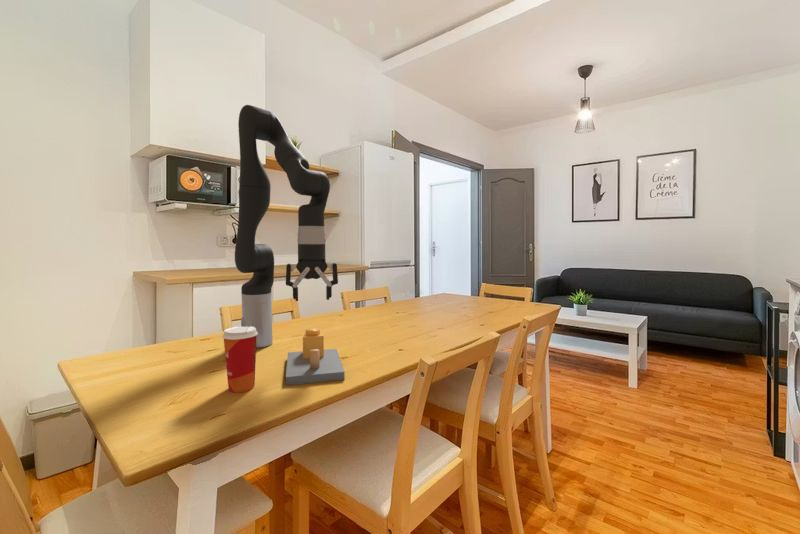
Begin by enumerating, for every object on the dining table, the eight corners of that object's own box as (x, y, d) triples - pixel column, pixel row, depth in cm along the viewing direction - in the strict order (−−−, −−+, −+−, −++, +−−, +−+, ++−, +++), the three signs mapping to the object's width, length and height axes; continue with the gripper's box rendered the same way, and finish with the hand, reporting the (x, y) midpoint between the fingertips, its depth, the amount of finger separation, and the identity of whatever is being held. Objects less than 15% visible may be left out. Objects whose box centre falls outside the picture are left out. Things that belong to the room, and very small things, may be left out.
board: (285, 385, 88) (285, 358, 88) (288, 359, 108) (287, 337, 107) (344, 379, 92) (344, 354, 92) (336, 355, 111) (336, 334, 111)
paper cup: (233, 381, 91) (231, 325, 90) (264, 381, 91) (263, 325, 89) (216, 394, 83) (214, 333, 82) (250, 395, 83) (248, 333, 82)
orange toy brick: (303, 358, 102) (302, 332, 102) (302, 352, 107) (302, 328, 107) (323, 356, 104) (323, 331, 103) (322, 351, 109) (322, 327, 108)
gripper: (336, 242, 109) (336, 297, 110) (285, 242, 105) (286, 299, 106) (338, 242, 101) (339, 301, 103) (284, 242, 98) (285, 303, 99)
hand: (312, 300), depth 104 cm, fingers open, 8 cm apart
